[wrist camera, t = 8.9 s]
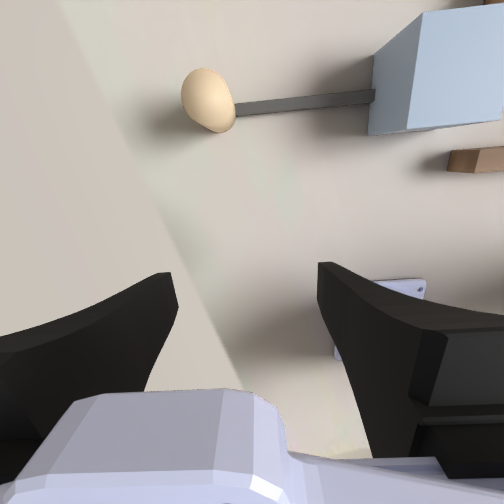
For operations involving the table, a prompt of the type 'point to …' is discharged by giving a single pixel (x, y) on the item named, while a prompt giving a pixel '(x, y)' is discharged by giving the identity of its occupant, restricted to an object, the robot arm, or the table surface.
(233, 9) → the table surface
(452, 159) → the walnut lane
